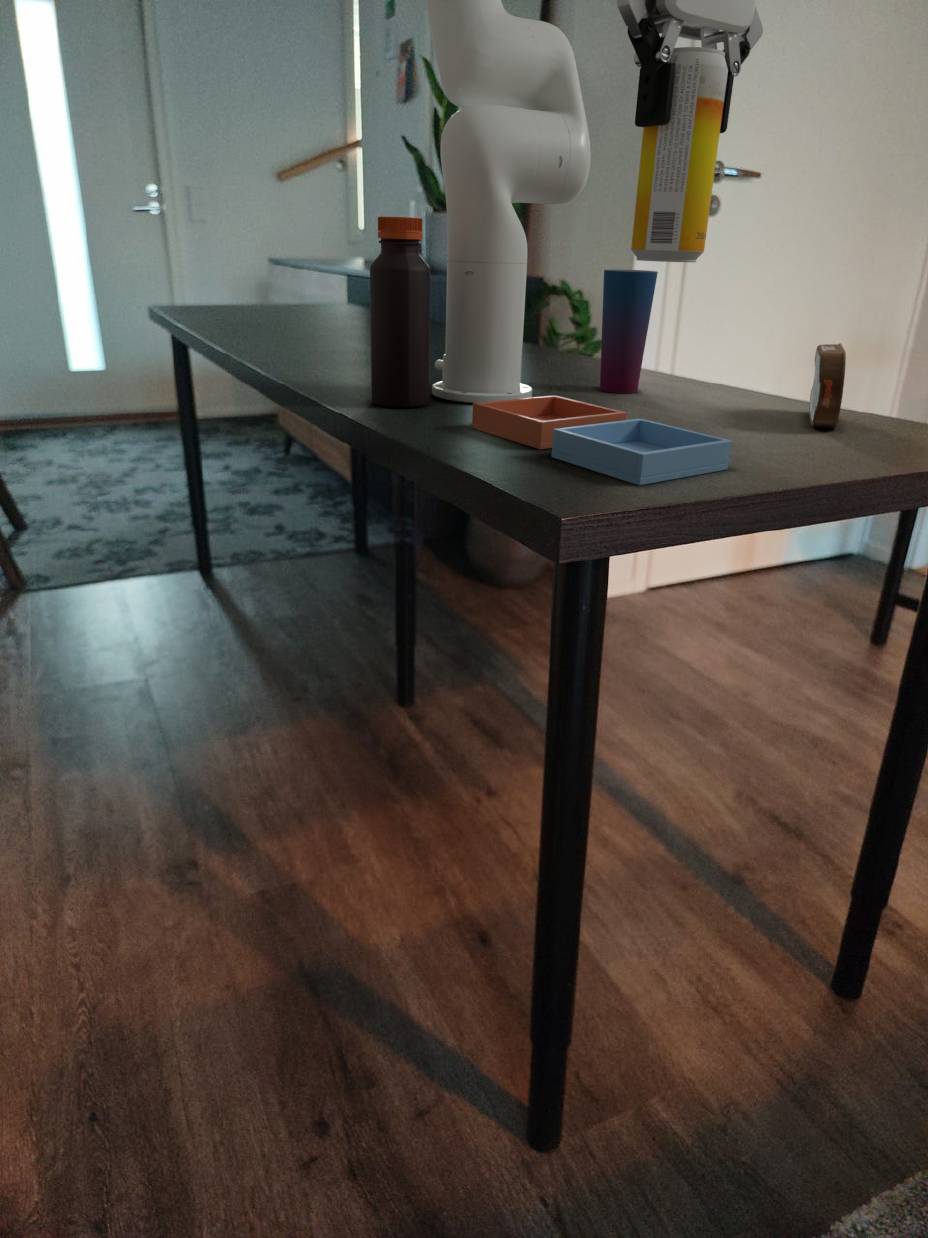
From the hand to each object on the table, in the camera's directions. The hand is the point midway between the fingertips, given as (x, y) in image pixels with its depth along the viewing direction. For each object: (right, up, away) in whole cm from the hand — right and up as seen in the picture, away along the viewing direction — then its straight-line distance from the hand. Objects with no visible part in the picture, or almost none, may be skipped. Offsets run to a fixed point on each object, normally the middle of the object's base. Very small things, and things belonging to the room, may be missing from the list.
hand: (681, 127), depth 69 cm
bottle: (-25, -14, +32) cm, 43 cm away
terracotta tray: (-9, -20, +19) cm, 30 cm away
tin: (+24, -17, +30) cm, 42 cm away
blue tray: (-2, -26, +9) cm, 27 cm away
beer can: (0, -9, +4) cm, 10 cm away
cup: (+3, -9, +47) cm, 48 cm away
